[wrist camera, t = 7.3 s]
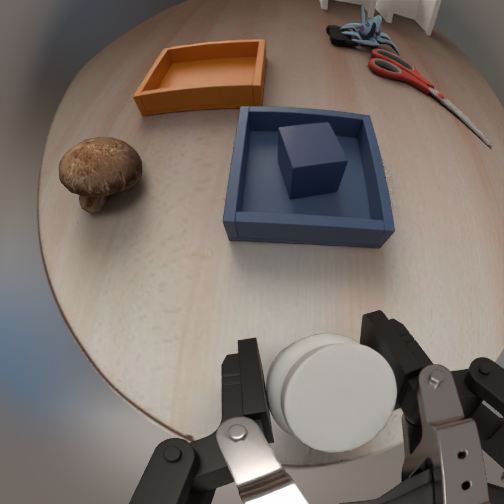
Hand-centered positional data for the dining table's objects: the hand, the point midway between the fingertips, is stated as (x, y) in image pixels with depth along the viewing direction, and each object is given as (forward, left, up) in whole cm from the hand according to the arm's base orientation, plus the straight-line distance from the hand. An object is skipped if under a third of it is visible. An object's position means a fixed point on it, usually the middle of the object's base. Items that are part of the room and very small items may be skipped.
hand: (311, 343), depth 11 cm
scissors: (+20, +31, -8) cm, 38 cm away
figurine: (+12, +43, -8) cm, 46 cm away
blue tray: (+1, +13, -8) cm, 15 cm away
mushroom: (-17, +13, -8) cm, 23 cm away
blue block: (+1, +13, -7) cm, 15 cm away
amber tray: (-10, +28, -8) cm, 31 cm away
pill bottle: (0, -2, -4) cm, 5 cm away
